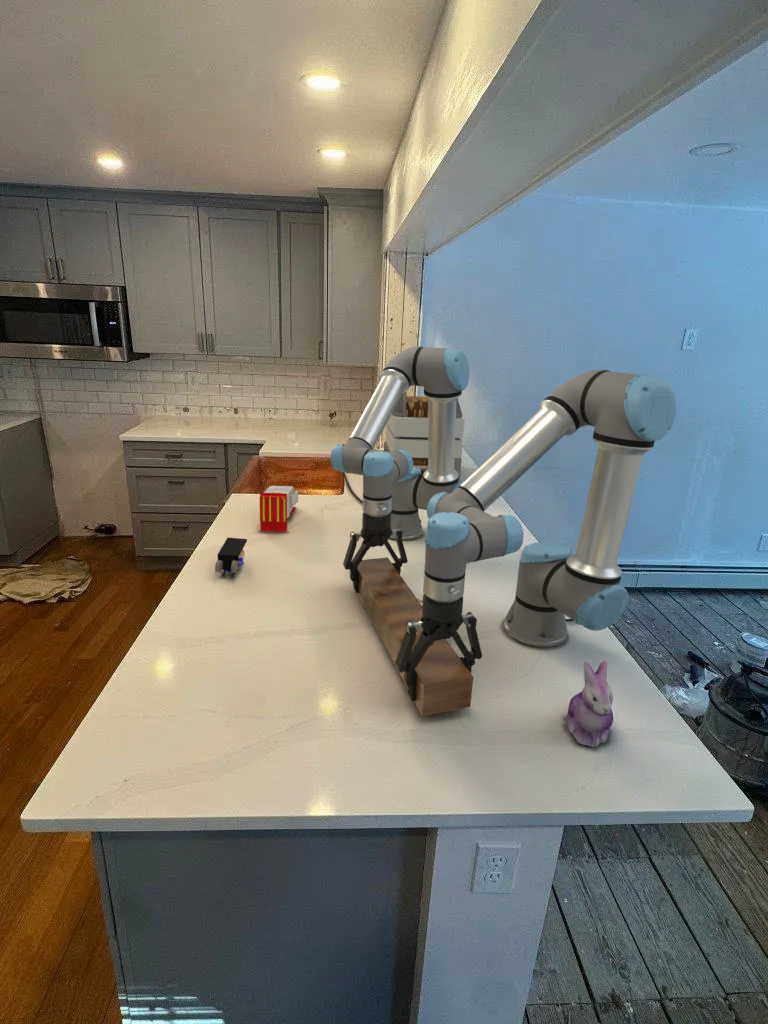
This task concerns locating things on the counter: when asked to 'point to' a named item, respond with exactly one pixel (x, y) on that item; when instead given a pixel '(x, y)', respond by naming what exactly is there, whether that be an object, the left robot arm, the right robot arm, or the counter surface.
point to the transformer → (418, 430)
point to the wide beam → (440, 667)
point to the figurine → (591, 708)
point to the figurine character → (230, 556)
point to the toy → (277, 507)
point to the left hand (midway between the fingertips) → (375, 588)
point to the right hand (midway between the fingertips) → (436, 692)
